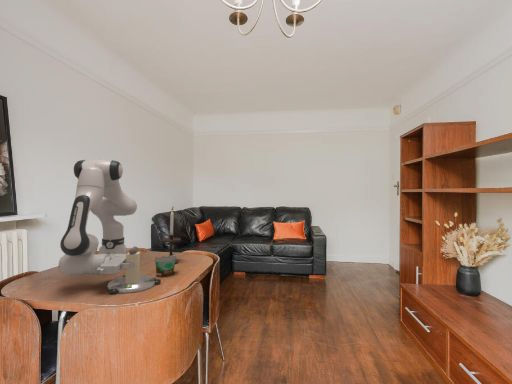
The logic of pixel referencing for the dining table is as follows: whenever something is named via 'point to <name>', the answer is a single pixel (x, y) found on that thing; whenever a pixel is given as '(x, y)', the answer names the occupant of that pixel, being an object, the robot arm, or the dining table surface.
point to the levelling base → (132, 285)
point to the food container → (165, 265)
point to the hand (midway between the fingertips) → (135, 262)
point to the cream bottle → (134, 271)
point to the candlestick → (171, 235)
